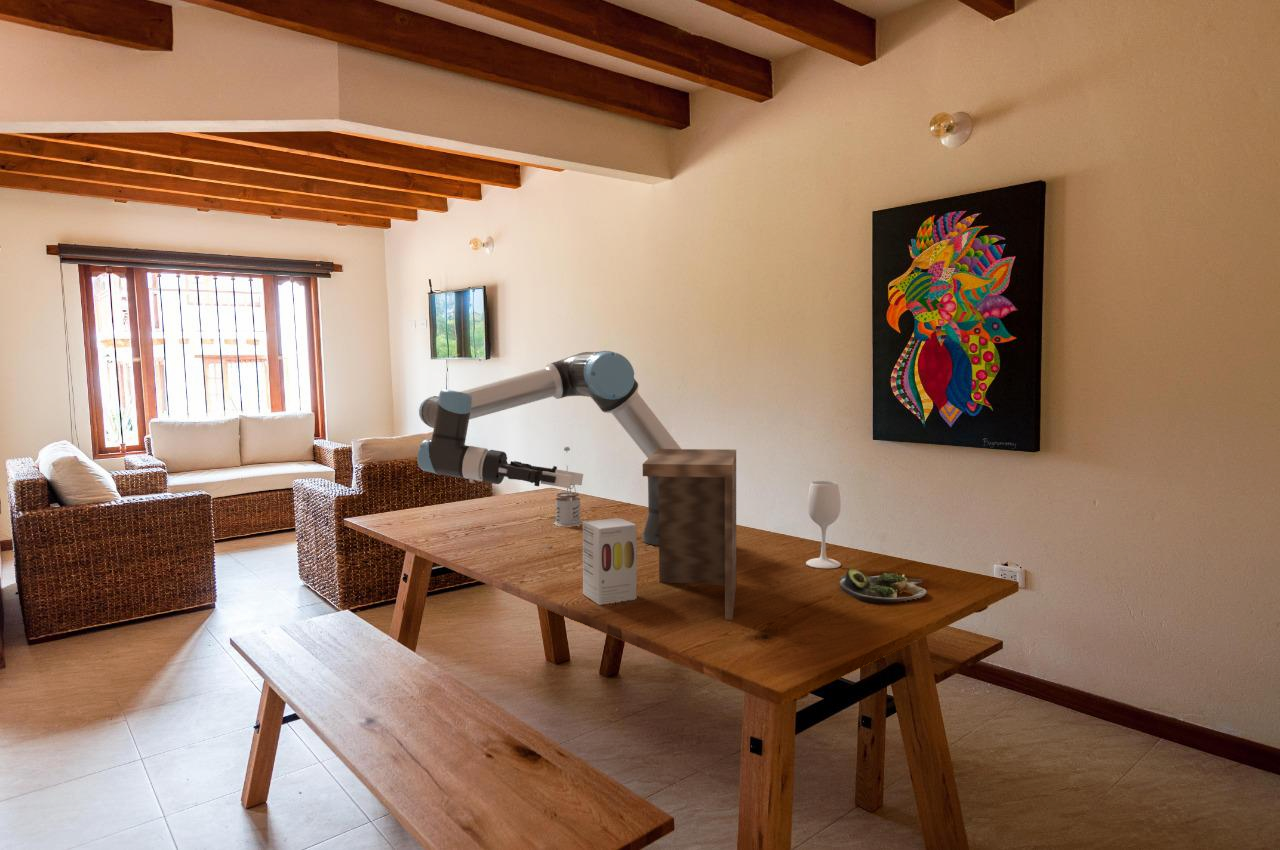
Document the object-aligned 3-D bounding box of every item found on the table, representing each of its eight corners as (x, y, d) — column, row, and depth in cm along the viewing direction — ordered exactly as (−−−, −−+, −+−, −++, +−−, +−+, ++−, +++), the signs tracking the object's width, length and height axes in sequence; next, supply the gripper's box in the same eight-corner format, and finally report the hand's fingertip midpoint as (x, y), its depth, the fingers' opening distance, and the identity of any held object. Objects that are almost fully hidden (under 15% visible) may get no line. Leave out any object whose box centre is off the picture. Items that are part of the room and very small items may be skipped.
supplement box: (598, 606, 166) (597, 528, 165) (581, 594, 175) (580, 520, 173) (638, 599, 171) (637, 523, 169) (620, 588, 179) (619, 516, 177)
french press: (549, 527, 245) (547, 448, 243) (559, 519, 257) (557, 444, 255) (579, 527, 244) (578, 448, 242) (588, 520, 255) (586, 444, 253)
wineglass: (841, 569, 193) (842, 485, 191) (806, 568, 194) (806, 485, 193) (840, 560, 201) (840, 480, 199) (805, 559, 203) (806, 479, 201)
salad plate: (902, 578, 186) (903, 559, 186) (948, 600, 169) (948, 579, 168) (828, 584, 182) (828, 565, 181) (867, 608, 164) (867, 586, 164)
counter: (644, 616, 159) (642, 463, 157) (660, 580, 185) (659, 449, 182) (732, 619, 157) (732, 464, 154) (736, 583, 182) (736, 449, 180)
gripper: (499, 479, 190) (583, 494, 187) (465, 484, 165) (562, 501, 163) (504, 449, 190) (588, 463, 187) (471, 449, 165) (568, 465, 163)
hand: (577, 480), depth 175 cm, fingers open, 13 cm apart
